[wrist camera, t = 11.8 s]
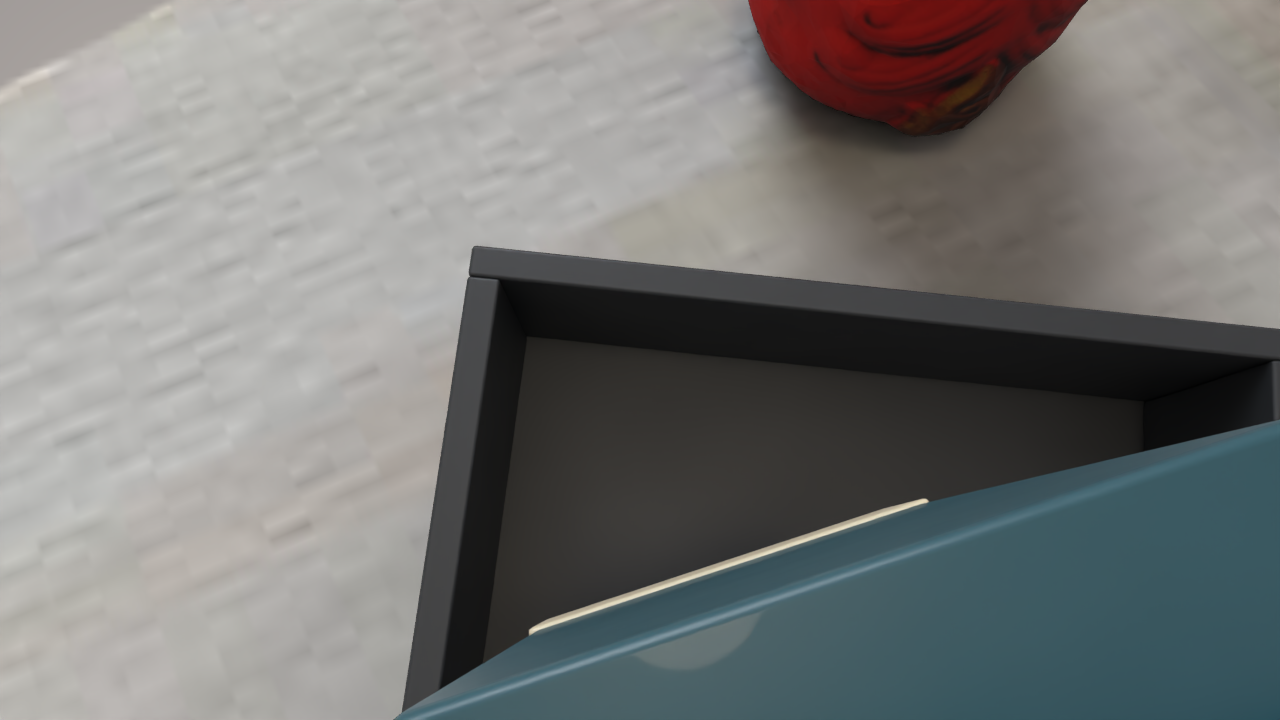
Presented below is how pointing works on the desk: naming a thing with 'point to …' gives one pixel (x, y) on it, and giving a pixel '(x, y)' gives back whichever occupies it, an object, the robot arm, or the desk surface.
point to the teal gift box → (948, 611)
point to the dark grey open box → (762, 422)
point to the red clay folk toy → (908, 53)
